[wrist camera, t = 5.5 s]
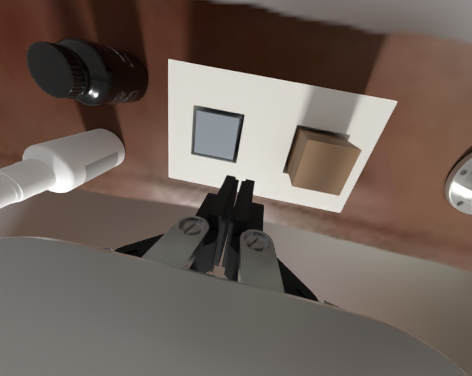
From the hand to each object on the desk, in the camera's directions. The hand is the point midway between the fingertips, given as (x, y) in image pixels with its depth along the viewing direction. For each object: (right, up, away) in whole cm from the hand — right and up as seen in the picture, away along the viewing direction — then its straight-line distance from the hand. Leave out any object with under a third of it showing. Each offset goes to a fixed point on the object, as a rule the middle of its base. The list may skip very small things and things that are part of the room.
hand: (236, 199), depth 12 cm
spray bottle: (-23, +8, +24) cm, 34 cm away
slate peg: (-2, +10, +17) cm, 20 cm away
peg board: (+4, +9, +19) cm, 22 cm away
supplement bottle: (-16, +18, +18) cm, 30 cm away
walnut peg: (+10, +6, +13) cm, 17 cm away
